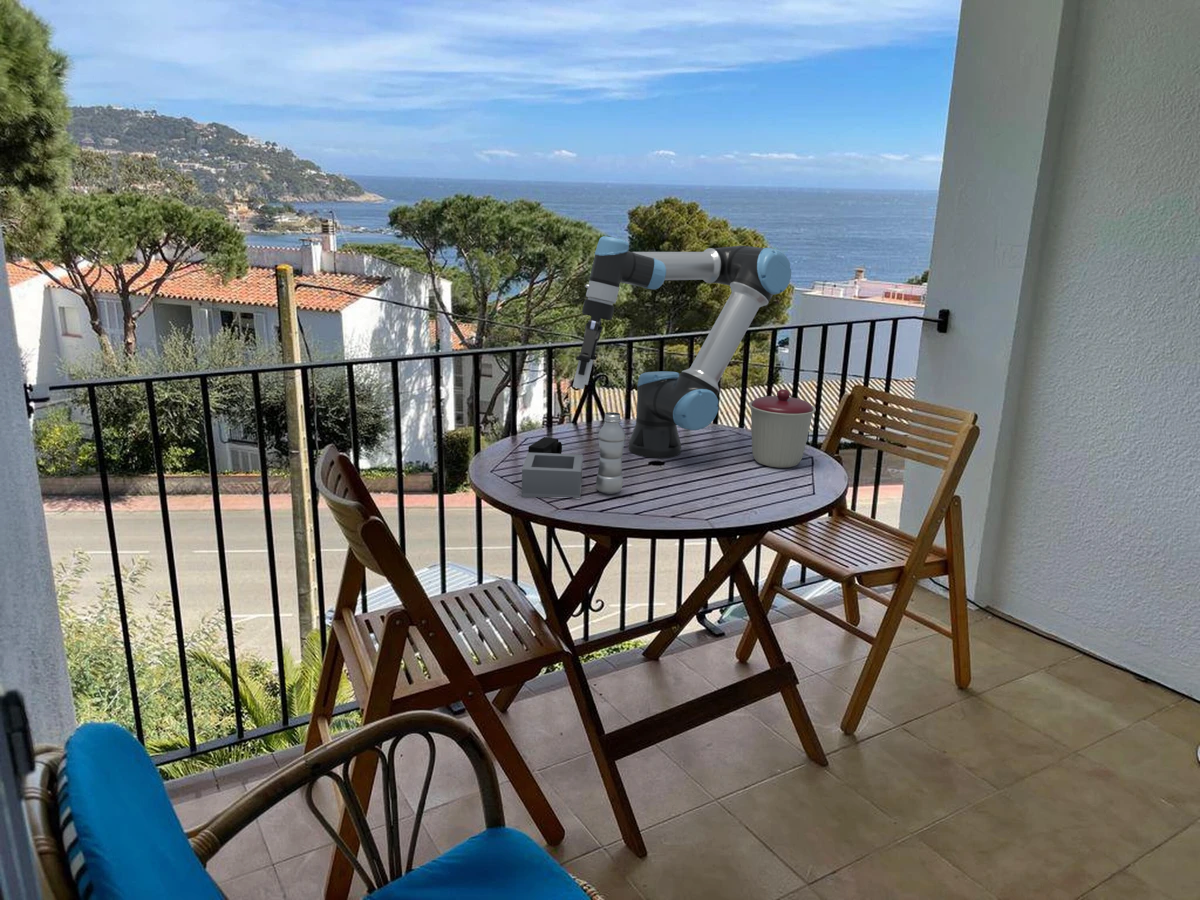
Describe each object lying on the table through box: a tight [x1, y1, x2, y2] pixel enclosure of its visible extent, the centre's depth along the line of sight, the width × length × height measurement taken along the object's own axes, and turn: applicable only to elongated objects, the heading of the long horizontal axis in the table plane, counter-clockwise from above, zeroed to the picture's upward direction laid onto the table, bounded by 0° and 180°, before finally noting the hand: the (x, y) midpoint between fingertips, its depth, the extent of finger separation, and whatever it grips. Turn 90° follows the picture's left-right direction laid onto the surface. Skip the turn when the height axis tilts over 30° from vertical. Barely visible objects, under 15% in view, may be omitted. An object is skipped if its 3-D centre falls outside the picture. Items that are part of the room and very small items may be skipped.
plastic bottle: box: [595, 411, 627, 495], centre depth 207 cm, size 6×7×20 cm
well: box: [521, 451, 584, 499], centre depth 209 cm, size 14×14×7 cm
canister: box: [748, 388, 817, 469], centre depth 236 cm, size 18×18×21 cm
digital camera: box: [527, 436, 563, 454], centre depth 226 cm, size 10×5×7 cm, turn 160°
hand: (580, 385), depth 211 cm, fingers open, 13 cm apart
